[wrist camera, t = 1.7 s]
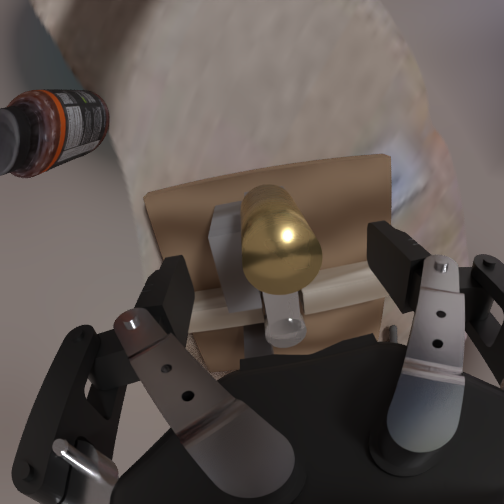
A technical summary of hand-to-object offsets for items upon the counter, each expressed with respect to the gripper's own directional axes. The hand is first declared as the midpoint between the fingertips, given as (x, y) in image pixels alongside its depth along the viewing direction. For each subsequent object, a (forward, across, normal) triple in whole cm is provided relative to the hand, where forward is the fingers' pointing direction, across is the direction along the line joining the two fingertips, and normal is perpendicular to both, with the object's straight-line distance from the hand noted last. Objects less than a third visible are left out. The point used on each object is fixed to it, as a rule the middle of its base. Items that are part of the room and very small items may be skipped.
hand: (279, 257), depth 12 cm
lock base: (+13, -1, +10) cm, 16 cm away
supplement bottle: (+13, +14, -9) cm, 21 cm away
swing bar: (+7, 0, +5) cm, 8 cm away
